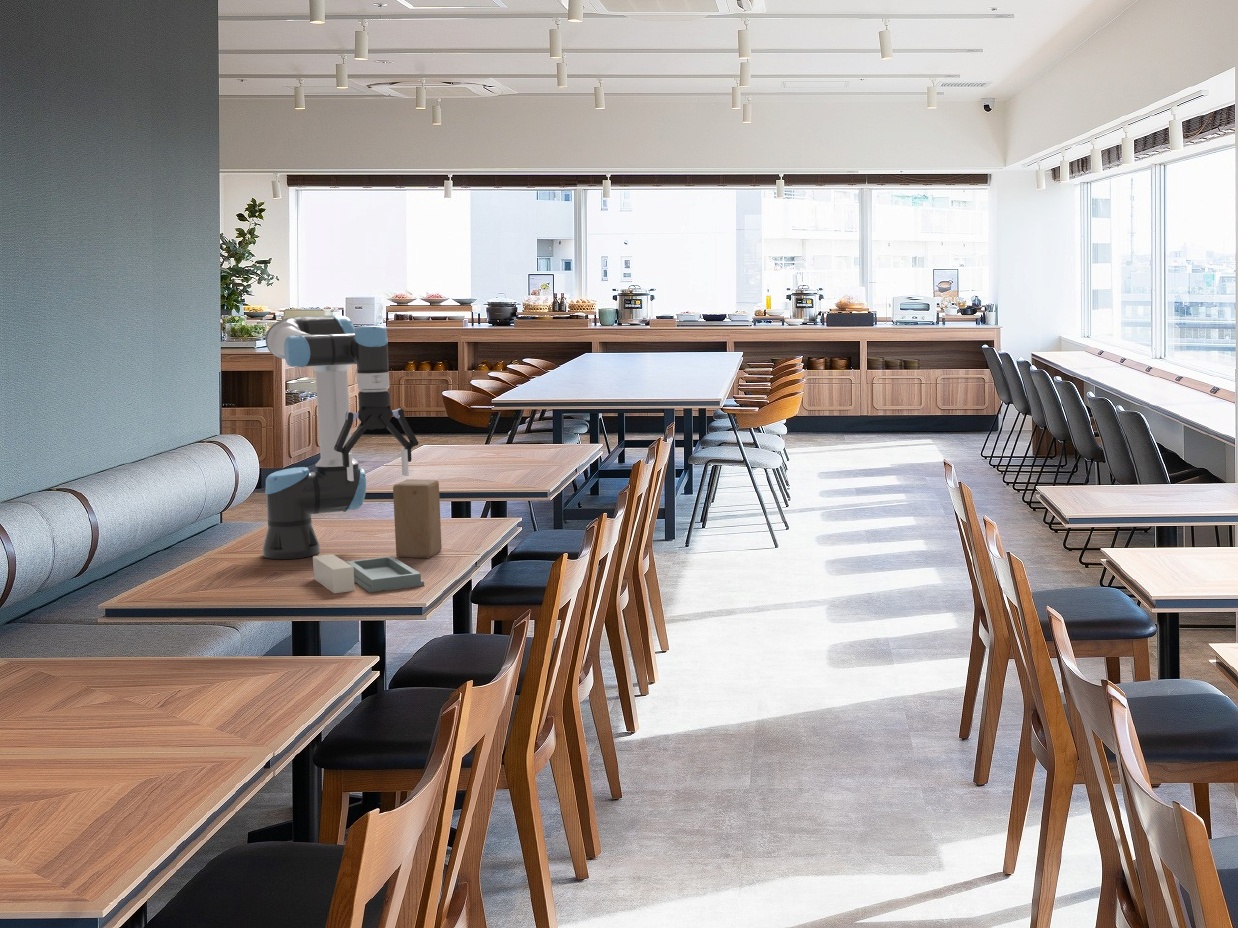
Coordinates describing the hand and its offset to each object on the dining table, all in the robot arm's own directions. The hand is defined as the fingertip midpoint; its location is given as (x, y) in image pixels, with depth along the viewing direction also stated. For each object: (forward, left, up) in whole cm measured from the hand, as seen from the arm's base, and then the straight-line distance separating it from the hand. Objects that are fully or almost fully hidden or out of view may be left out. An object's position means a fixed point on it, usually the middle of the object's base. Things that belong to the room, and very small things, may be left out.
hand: (378, 478), depth 301 cm
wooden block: (-28, +18, -26) cm, 42 cm away
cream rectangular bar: (-5, -11, -26) cm, 29 cm away
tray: (-4, +1, -26) cm, 26 cm away
